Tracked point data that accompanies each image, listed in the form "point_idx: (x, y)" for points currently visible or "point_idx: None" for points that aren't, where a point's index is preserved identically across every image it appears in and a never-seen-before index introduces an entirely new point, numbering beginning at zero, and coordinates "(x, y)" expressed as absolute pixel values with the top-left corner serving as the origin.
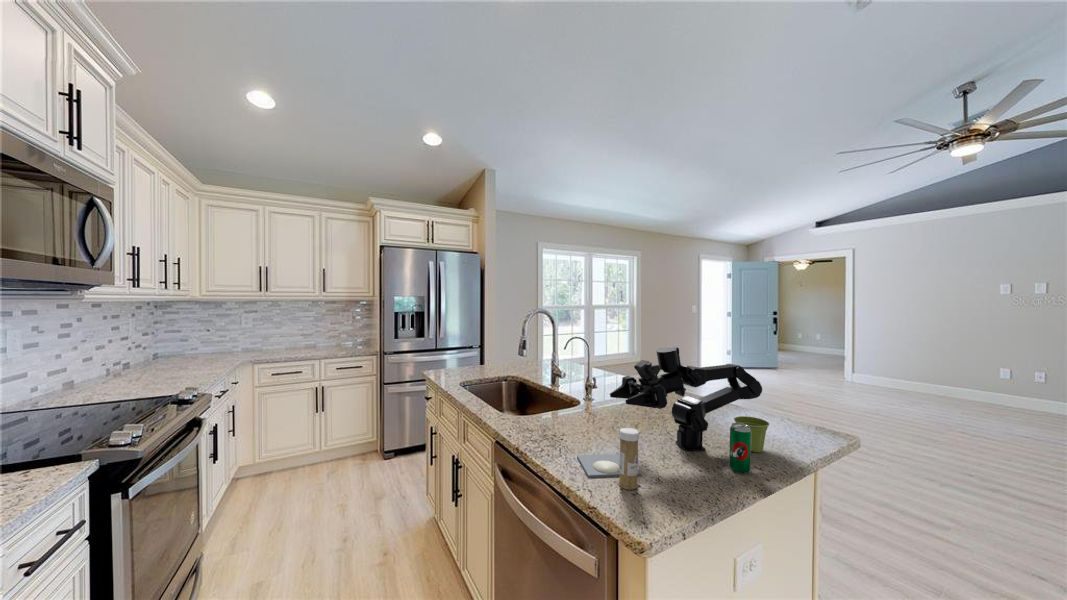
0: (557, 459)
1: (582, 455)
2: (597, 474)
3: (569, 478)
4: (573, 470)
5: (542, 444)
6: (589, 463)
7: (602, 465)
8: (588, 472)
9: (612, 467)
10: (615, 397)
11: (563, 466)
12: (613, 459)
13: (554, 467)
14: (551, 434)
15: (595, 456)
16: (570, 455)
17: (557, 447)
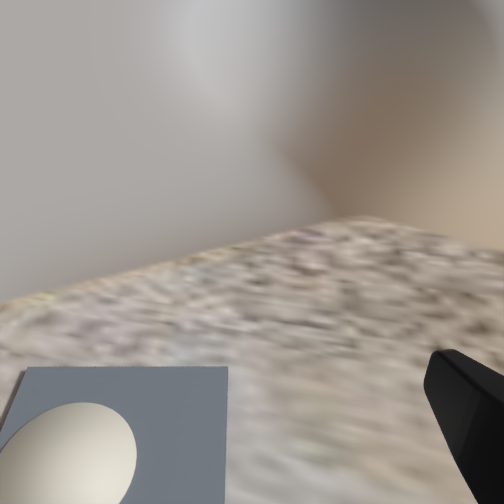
0: (216, 303)
1: (220, 387)
2: (14, 402)
3: (55, 313)
4: (110, 336)
5: (360, 277)
6: (130, 397)
7: (82, 448)
8: (48, 372)
9: (40, 495)
10: (453, 457)
11: (152, 311)
12: None
13: (152, 285)
14: (488, 319)
15: (200, 446)
16: (250, 351)
17: (335, 319)
